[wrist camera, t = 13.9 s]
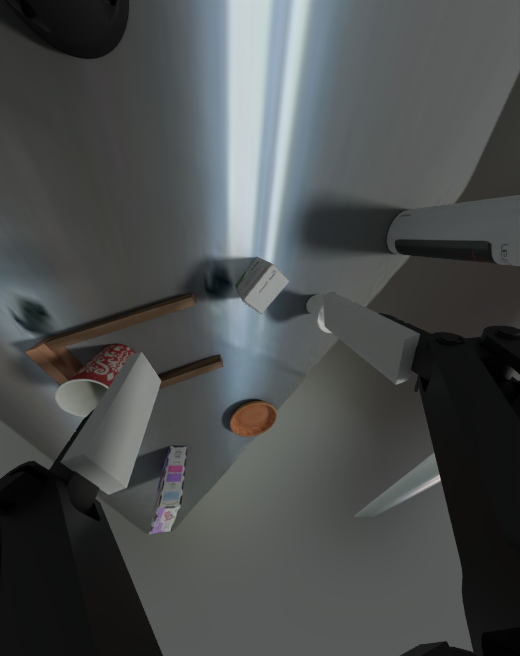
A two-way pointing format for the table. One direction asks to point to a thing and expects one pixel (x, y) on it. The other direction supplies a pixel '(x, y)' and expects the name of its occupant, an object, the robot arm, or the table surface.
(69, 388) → the mug
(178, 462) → the candy box
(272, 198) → the table surface
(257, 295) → the ink box
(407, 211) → the speaker
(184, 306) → the guide channel
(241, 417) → the saucer
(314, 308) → the cup
